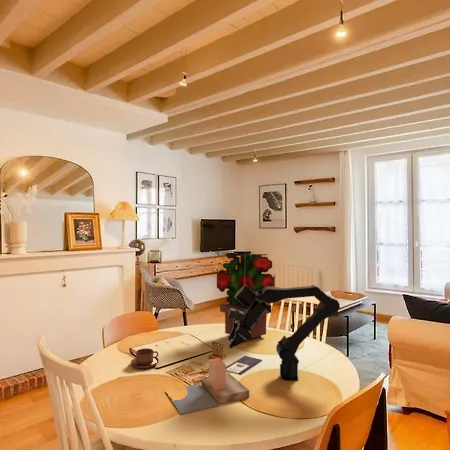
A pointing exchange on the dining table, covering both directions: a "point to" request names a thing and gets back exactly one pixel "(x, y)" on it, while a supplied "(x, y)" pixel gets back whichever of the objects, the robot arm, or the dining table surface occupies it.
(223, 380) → the salmon pink block
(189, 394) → the slate mat
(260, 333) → the potted plant
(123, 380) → the dining table surface
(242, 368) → the chocolate bar
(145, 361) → the cup and saucer
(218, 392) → the block
